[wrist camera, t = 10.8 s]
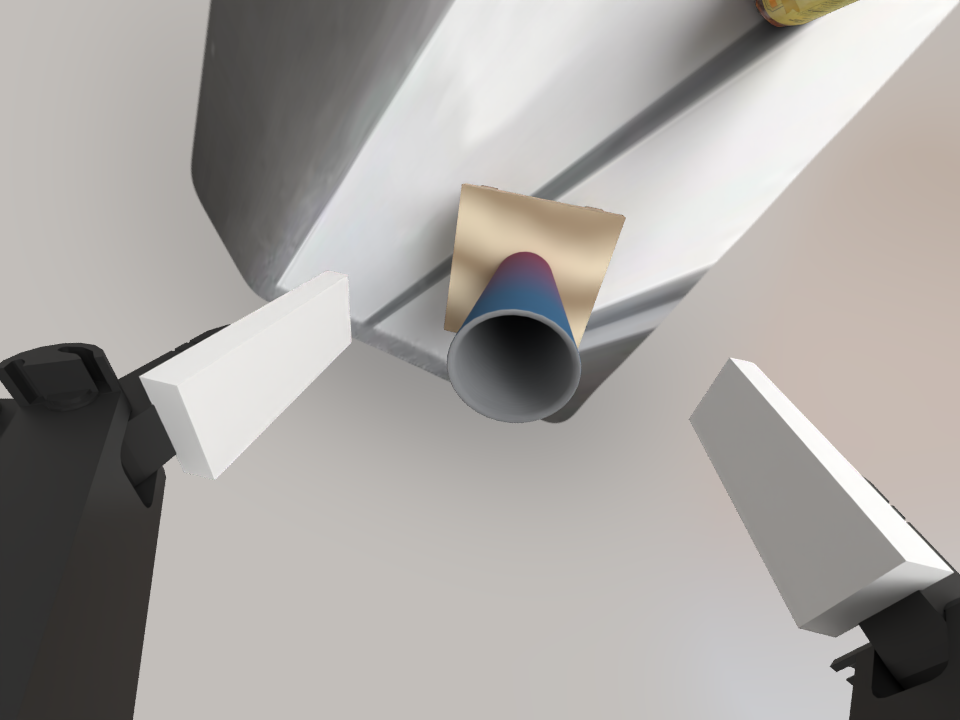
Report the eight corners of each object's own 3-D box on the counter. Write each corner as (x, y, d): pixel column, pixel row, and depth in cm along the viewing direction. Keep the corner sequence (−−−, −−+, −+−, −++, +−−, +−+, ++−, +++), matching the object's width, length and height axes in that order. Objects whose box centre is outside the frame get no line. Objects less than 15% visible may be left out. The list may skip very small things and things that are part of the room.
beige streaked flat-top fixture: (478, 178, 34) (461, 184, 27) (608, 205, 33) (625, 217, 27) (460, 300, 41) (443, 329, 34) (568, 324, 40) (574, 358, 33)
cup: (485, 314, 33) (450, 418, 20) (485, 239, 29) (441, 306, 16) (559, 318, 32) (572, 428, 19) (567, 240, 28) (590, 312, 15)
